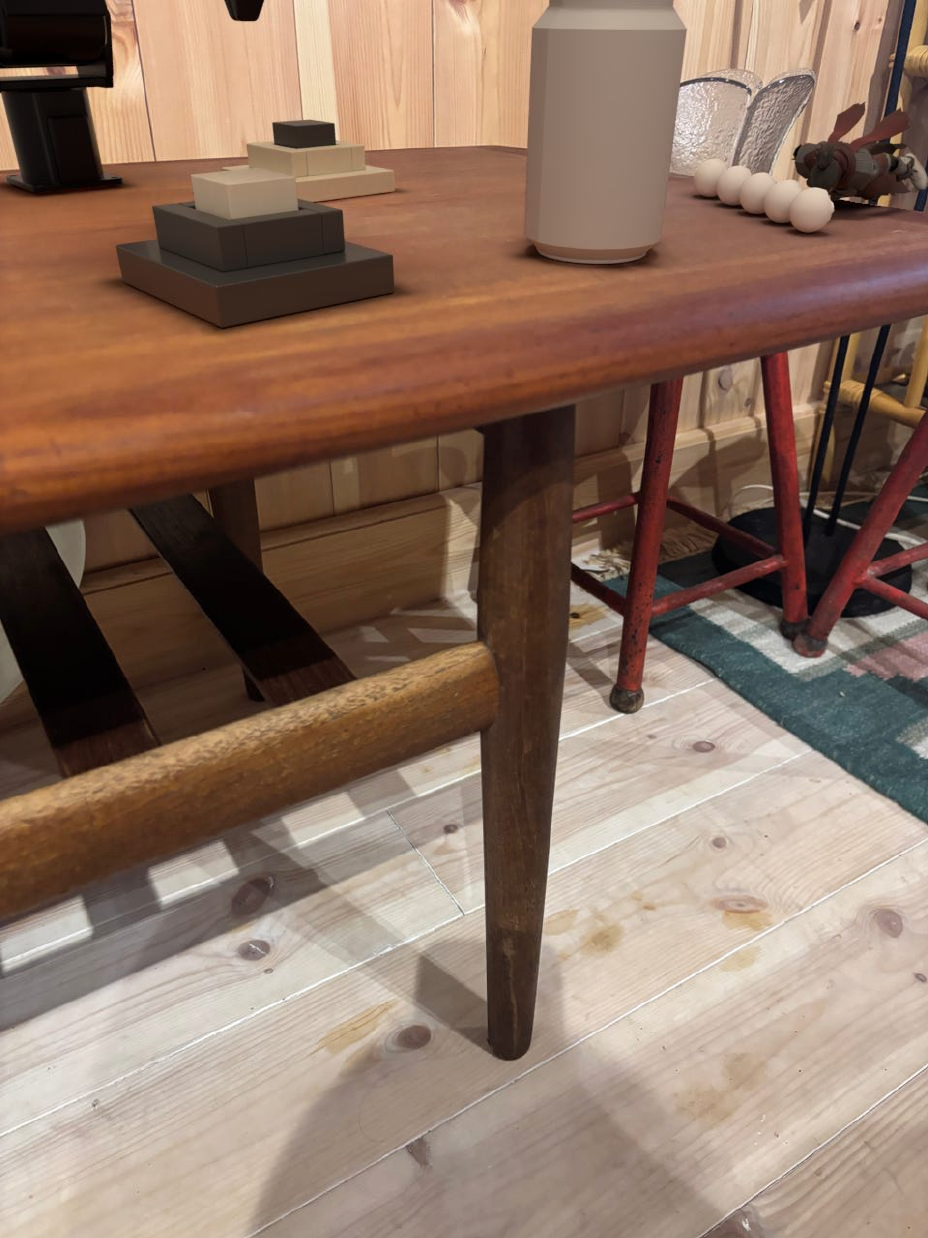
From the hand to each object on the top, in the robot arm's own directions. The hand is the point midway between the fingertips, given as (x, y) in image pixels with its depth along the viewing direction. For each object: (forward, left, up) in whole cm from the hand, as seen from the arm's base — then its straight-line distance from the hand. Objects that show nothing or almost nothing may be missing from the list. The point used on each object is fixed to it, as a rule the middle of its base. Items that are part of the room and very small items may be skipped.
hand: (244, 20), depth 43 cm
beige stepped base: (-16, +13, -11) cm, 23 cm away
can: (+11, +14, -11) cm, 21 cm away
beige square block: (+6, -4, -7) cm, 11 cm away
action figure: (+10, +47, -8) cm, 49 cm away
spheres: (+10, +31, -8) cm, 33 cm away
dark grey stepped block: (+6, -4, -11) cm, 13 cm away
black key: (-16, +13, -8) cm, 22 cm away
